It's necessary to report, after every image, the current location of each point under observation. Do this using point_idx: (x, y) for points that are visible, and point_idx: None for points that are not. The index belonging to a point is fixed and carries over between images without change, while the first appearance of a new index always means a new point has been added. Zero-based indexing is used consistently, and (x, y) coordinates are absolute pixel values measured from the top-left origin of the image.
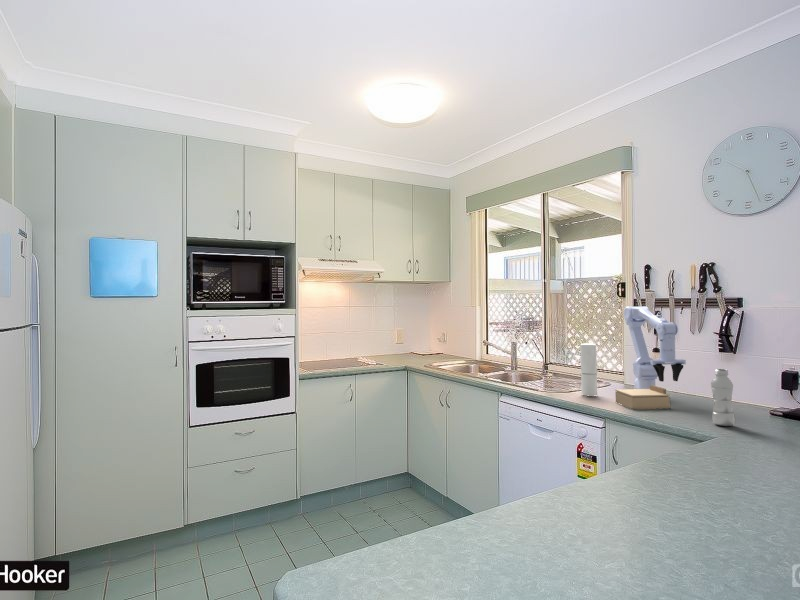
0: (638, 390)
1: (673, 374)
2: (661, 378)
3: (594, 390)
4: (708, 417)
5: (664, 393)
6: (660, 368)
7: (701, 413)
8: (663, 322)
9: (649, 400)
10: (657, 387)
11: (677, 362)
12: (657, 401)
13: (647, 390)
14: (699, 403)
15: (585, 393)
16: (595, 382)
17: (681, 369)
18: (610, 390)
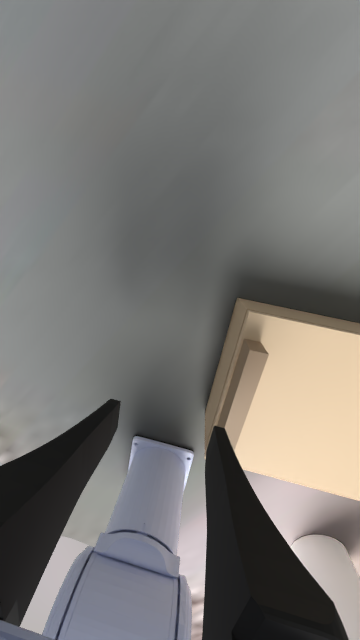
0: (300, 452)
1: (91, 469)
2: (231, 450)
3: (334, 567)
4: (224, 83)
5: (254, 341)
6: (310, 579)
7: (184, 178)
8: None
9: (354, 328)
10: (249, 408)
11: None
12: (305, 317)
13: (255, 437)
14: (58, 338)
15: (353, 564)
16: (348, 621)
17: (6, 466)
18: (187, 565)
